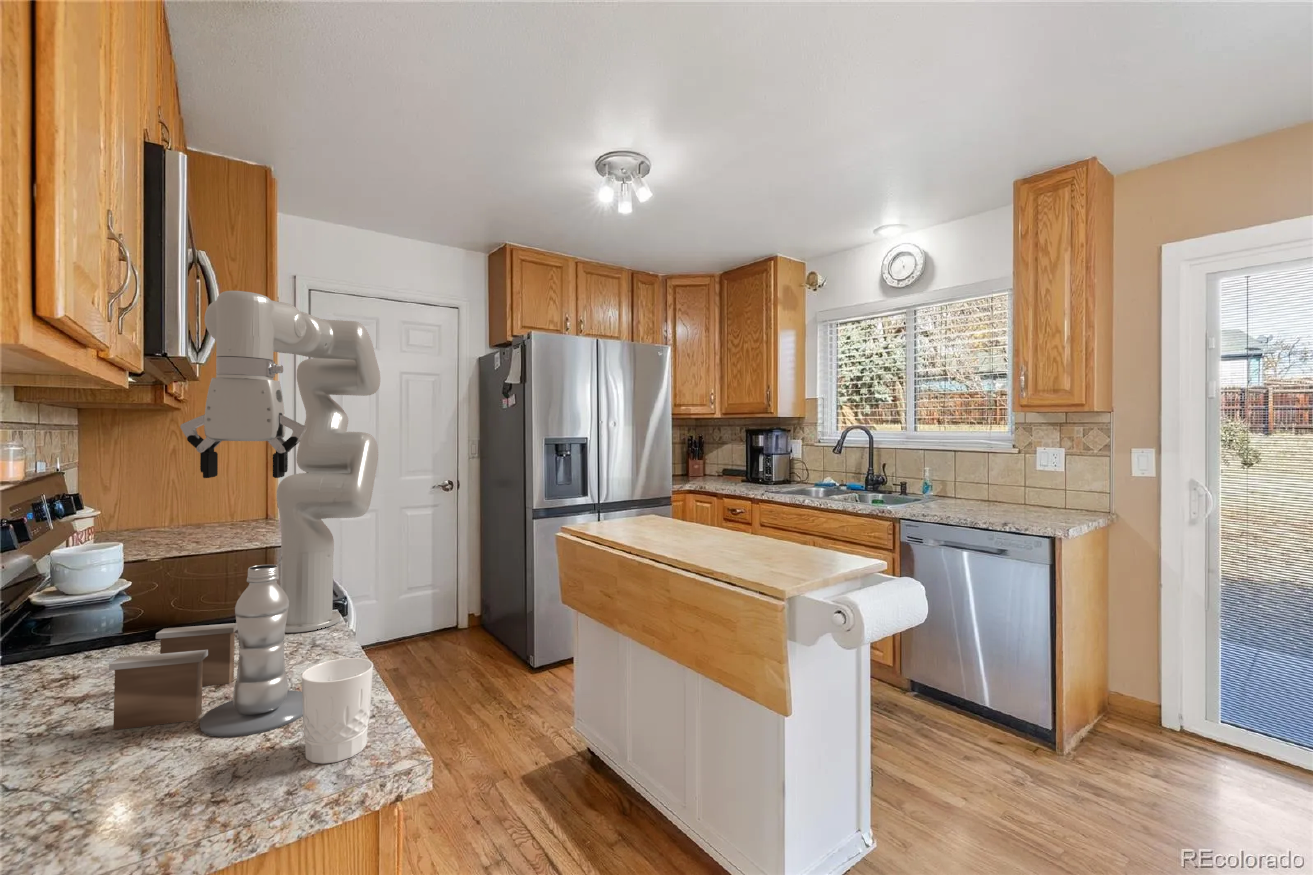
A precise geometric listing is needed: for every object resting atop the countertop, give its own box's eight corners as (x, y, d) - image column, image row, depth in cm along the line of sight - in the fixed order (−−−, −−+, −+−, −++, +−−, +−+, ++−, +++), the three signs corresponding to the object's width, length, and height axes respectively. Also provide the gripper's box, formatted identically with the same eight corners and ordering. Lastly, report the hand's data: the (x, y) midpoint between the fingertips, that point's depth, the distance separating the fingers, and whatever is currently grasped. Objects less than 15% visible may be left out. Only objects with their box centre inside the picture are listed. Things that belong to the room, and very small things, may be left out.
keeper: (162, 685, 91) (163, 628, 91) (238, 677, 95) (239, 622, 95) (107, 731, 77) (109, 664, 77) (199, 720, 80) (200, 656, 80)
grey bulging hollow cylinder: (239, 726, 77) (242, 574, 77) (226, 710, 82) (229, 567, 82) (294, 710, 82) (297, 567, 82) (279, 695, 87) (282, 560, 87)
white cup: (287, 753, 72) (289, 672, 72) (350, 728, 78) (352, 653, 78) (320, 774, 67) (321, 687, 68) (384, 745, 74) (386, 666, 74)
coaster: (220, 700, 86) (220, 696, 86) (320, 689, 90) (320, 685, 90) (182, 743, 74) (182, 739, 74) (300, 728, 78) (300, 723, 78)
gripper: (313, 374, 99) (312, 475, 100) (194, 370, 95) (194, 475, 96) (297, 371, 92) (296, 479, 93) (169, 366, 88) (168, 479, 88)
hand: (244, 477), depth 94 cm, fingers open, 9 cm apart
